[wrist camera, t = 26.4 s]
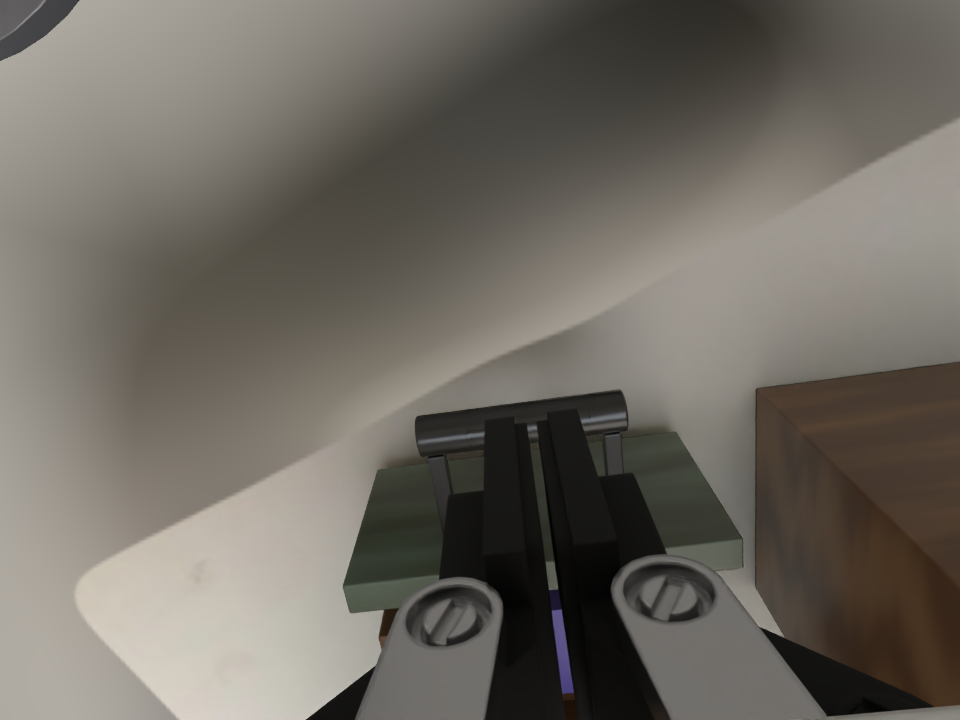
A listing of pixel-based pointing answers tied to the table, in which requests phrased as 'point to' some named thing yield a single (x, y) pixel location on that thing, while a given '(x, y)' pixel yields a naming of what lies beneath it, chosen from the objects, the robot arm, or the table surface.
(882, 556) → the stand
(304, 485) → the table surface
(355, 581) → the drawer
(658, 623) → the robot arm
